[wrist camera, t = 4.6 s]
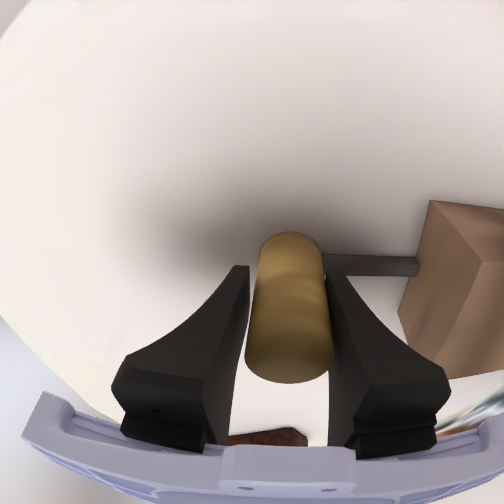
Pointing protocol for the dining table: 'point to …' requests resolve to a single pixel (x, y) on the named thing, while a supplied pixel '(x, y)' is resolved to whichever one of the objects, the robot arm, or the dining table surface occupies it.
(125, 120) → the dining table surface
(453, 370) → the wooden mallet
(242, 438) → the brick
